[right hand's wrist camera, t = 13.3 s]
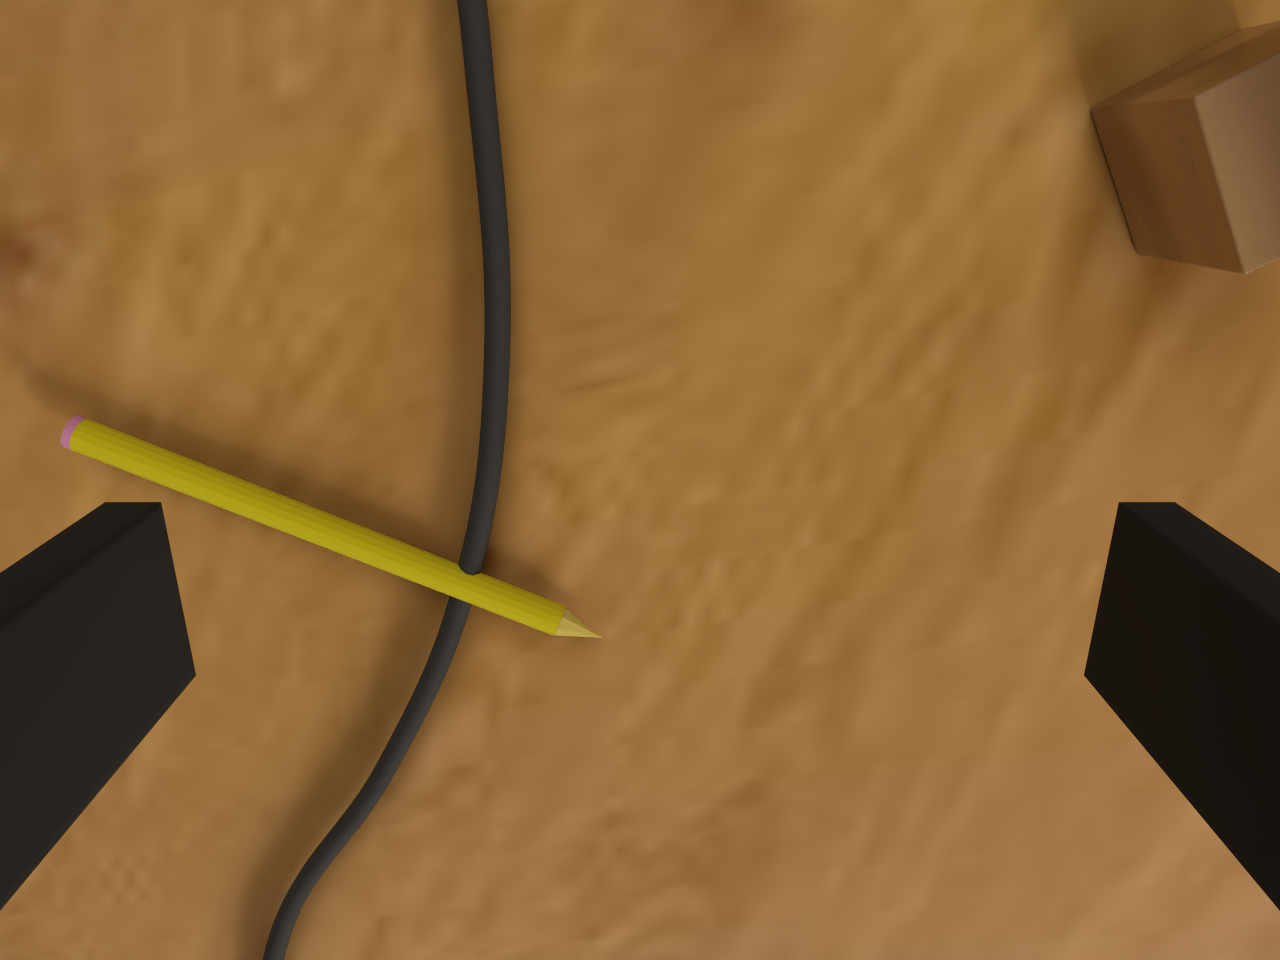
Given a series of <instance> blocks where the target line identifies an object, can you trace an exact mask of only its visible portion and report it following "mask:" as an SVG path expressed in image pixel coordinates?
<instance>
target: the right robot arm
mask: <svg viewBox="0 0 1280 960" xmlns="http://www.w3.org/2000/svg"><path fill="white" fill-rule="evenodd" d="M457 2H458V10H459V19H460V27H461V37H462V47H463V56H464V66H465V76H466V86H467V95H468V105H469V114H470V124H471V133H472V142H473V151H474V160H475V170H476V179H477V189H478V200H479V210H480V222H481V234H482V249H483V267H484V298H485V337H484V372H483V396H482V414H481V429H480V442H479V452H478V462H477V470H476V478H475V485H474V492H473V498H472V504H471V510H470V515H469V520H468V525H467V530H466V535H465V539H464V544H463V548H462V552H461V556H460V560H459V564H458V565H459V567H460V569H461V570H462V571H463V572H464V573H466V574H468V575H473V576H474V575H476V574H479V573H480V572H481V568H482V565H483V561H484V557H485V553H486V549H487V544H488V540H489V536H490V531H491V527H492V522H493V517H494V512H495V506H496V501H497V495H498V489H499V482H500V475H501V467H502V460H503V450H504V440H505V428H506V415H507V400H508V382H509V360H510V329H511V288H510V256H509V238H508V223H507V210H506V198H505V187H504V176H503V165H502V155H501V145H500V135H499V125H498V115H497V104H496V94H495V83H494V72H493V61H492V51H491V40H490V29H489V20H488V11H487V1H486V0H457ZM470 607H471V604H470V603H468V602H465V601H462V600H460V599H457V598H455V597H452V596H450V597H449V601H448V604H447V607H446V610H445V613H444V617H443V620H442V623H441V626H440V629H439V632H438V635H437V637H436V640H435V643H434V645H433V648H432V651H431V653H430V656H429V658H428V661H427V663H426V666H425V668H424V670H423V673H422V675H421V677H420V680H419V682H418V684H417V686H416V688H415V690H414V693H413V695H412V697H411V699H410V701H409V703H408V705H407V707H406V709H405V711H404V713H403V715H402V717H401V719H400V721H399V723H398V724H397V726H396V728H395V730H394V732H393V734H392V736H391V738H390V740H389V742H388V743H387V745H386V747H385V749H384V751H383V753H382V755H381V757H380V758H379V760H378V762H377V764H376V766H375V768H374V769H373V771H372V773H371V775H370V776H369V778H368V780H367V781H366V783H365V784H364V786H363V787H362V789H361V790H360V792H359V793H358V795H357V796H356V798H355V799H354V800H353V802H352V803H351V805H350V806H349V807H348V809H347V810H346V811H345V813H344V814H343V815H342V817H341V818H340V819H339V820H338V822H337V823H336V824H335V825H334V827H333V828H332V829H331V830H330V832H329V833H328V834H327V836H326V837H325V838H324V839H323V841H322V842H321V843H320V844H319V846H318V847H317V848H316V850H315V851H314V852H313V854H312V855H311V856H310V858H309V859H308V860H307V862H306V863H305V865H304V866H303V868H302V869H301V871H300V872H299V874H298V876H297V877H296V879H295V880H294V882H293V884H292V885H291V887H290V889H289V891H288V892H287V894H286V896H285V898H284V900H283V902H282V904H281V906H280V909H279V911H278V913H277V915H276V918H275V920H274V923H273V926H272V929H271V931H270V934H269V938H268V941H267V944H266V948H265V952H264V957H263V960H284V957H285V952H286V948H287V945H288V942H289V938H290V935H291V932H292V930H293V927H294V924H295V922H296V919H297V917H298V915H299V913H300V910H301V908H302V906H303V904H304V902H305V901H306V899H307V897H308V895H309V893H310V892H311V890H312V889H313V887H314V885H315V884H316V882H317V881H318V880H319V878H320V877H321V875H322V874H323V873H324V871H325V870H326V869H327V867H328V866H329V865H330V863H331V862H332V861H333V859H334V858H335V857H336V856H337V854H338V853H339V852H340V851H341V849H342V848H343V847H344V846H345V844H346V843H347V842H348V841H349V839H350V838H351V837H352V836H353V834H354V833H355V832H356V831H357V829H358V828H359V827H360V825H361V824H362V823H363V822H364V820H365V819H366V818H367V816H368V815H369V813H370V812H371V811H372V809H373V808H374V806H375V805H376V803H377V802H378V800H379V799H380V797H381V796H382V794H383V793H384V791H385V790H386V788H387V786H388V784H389V783H390V781H391V779H392V777H393V776H394V774H395V772H396V770H397V769H398V767H399V765H400V763H401V761H402V759H403V758H404V756H405V754H406V752H407V750H408V748H409V747H410V745H411V743H412V741H413V739H414V737H415V735H416V733H417V732H418V730H419V728H420V726H421V724H422V722H423V720H424V718H425V716H426V714H427V712H428V710H429V708H430V706H431V704H432V702H433V700H434V698H435V696H436V694H437V692H438V690H439V688H440V686H441V684H442V681H443V679H444V677H445V675H446V672H447V670H448V668H449V665H450V663H451V660H452V658H453V655H454V653H455V650H456V648H457V645H458V642H459V640H460V637H461V634H462V631H463V628H464V625H465V622H466V619H467V616H468V613H469V610H470ZM195 676H196V673H195V668H194V663H193V658H192V653H191V648H190V643H189V638H188V634H187V629H186V624H185V619H184V614H183V609H182V604H181V599H180V594H179V589H178V584H177V579H176V574H175V569H174V564H173V559H172V554H171V549H170V544H169V539H168V534H167V529H166V524H165V519H164V515H163V510H162V505H161V502H105V503H103V504H102V505H100V506H99V507H97V508H96V509H94V510H93V511H91V512H90V513H89V514H87V515H86V516H84V517H83V518H81V519H80V520H78V521H77V522H75V523H74V524H72V525H71V526H69V527H68V528H66V529H65V530H63V531H62V532H60V533H59V534H57V535H56V536H54V537H53V538H51V539H50V540H48V541H47V542H46V543H44V544H43V545H41V546H40V547H38V548H37V549H35V550H34V551H32V552H31V553H29V554H28V555H26V556H25V557H23V558H22V559H20V560H19V561H17V562H16V563H14V564H13V565H11V566H10V567H8V568H7V569H5V570H4V571H3V572H1V573H0V910H1V909H2V908H3V907H4V905H5V904H6V903H7V902H8V901H9V899H10V898H11V897H12V896H13V895H14V893H15V892H16V891H17V890H18V889H19V887H20V886H21V885H22V884H23V883H24V881H25V880H26V879H27V878H28V877H29V875H30V874H31V873H32V872H33V871H34V869H35V868H36V867H37V866H38V865H39V863H40V862H41V861H42V860H43V859H44V857H45V856H46V855H47V854H48V852H49V851H50V850H51V849H52V848H53V846H54V845H55V844H56V843H57V842H58V840H59V839H60V838H61V837H62V836H63V834H64V833H65V832H66V831H67V830H68V828H69V827H70V826H71V825H72V824H73V822H74V821H75V820H76V819H77V818H78V816H79V815H80V814H81V813H82V812H83V810H84V809H85V808H86V807H87V806H88V804H89V803H90V802H91V801H92V800H93V798H94V797H95V796H96V795H97V794H98V792H99V791H100V790H101V789H102V788H103V786H104V785H105V784H106V783H107V782H108V780H109V779H110V778H111V777H112V776H113V774H114V773H115V772H116V771H117V770H118V768H119V767H120V766H121V765H122V764H123V762H124V761H125V760H126V759H127V758H128V756H129V755H130V754H131V753H132V752H133V750H134V749H135V748H136V747H137V746H138V744H139V743H140V742H141V741H142V740H143V738H144V737H145V736H146V735H147V734H148V732H149V731H150V730H151V729H152V728H153V726H154V725H155V724H156V723H157V721H158V720H159V719H160V718H161V717H162V715H163V714H164V713H165V712H166V711H167V709H168V708H169V707H170V706H171V705H172V703H173V702H174V701H175V700H176V699H177V697H178V696H179V695H180V694H181V693H182V691H183V690H184V689H185V688H186V687H187V685H188V684H189V683H190V682H191V681H192V679H193V678H194V677H195ZM1084 676H1085V677H1086V678H1087V679H1088V681H1089V682H1090V683H1091V684H1092V685H1093V687H1094V688H1095V689H1096V690H1097V691H1098V693H1099V694H1100V695H1101V696H1102V697H1103V699H1104V700H1105V701H1106V702H1107V703H1108V705H1109V706H1110V707H1111V708H1112V709H1113V711H1114V712H1115V713H1116V714H1117V715H1118V717H1119V718H1120V719H1121V720H1122V721H1123V723H1124V724H1125V725H1126V726H1127V728H1128V729H1129V730H1130V731H1131V732H1132V734H1133V735H1134V736H1135V737H1136V738H1137V740H1138V741H1139V742H1140V743H1141V744H1142V746H1143V747H1144V748H1145V749H1146V750H1147V752H1148V753H1149V754H1150V755H1151V756H1152V758H1153V759H1154V760H1155V761H1156V762H1157V764H1158V765H1159V766H1160V767H1161V768H1162V770H1163V771H1164V772H1165V773H1166V774H1167V776H1168V777H1169V778H1170V779H1171V780H1172V782H1173V783H1174V784H1175V785H1176V786H1177V788H1178V789H1179V790H1180V791H1181V792H1182V794H1183V795H1184V796H1185V797H1186V798H1187V800H1188V801H1189V802H1190V803H1191V804H1192V806H1193V807H1194V808H1195V809H1196V810H1197V812H1198V813H1199V814H1200V815H1201V816H1202V818H1203V819H1204V820H1205V821H1206V822H1207V824H1208V825H1209V826H1210V827H1211V828H1212V830H1213V831H1214V832H1215V833H1216V834H1217V836H1218V837H1219V838H1220V839H1221V840H1222V842H1223V843H1224V844H1225V845H1226V846H1227V848H1228V849H1229V850H1230V851H1231V852H1232V854H1233V855H1234V856H1235V857H1236V858H1237V860H1238V861H1239V862H1240V863H1241V865H1242V866H1243V867H1244V868H1245V869H1246V871H1247V872H1248V873H1249V874H1250V875H1251V877H1252V878H1253V879H1254V880H1255V881H1256V883H1257V884H1258V885H1259V886H1260V887H1261V889H1262V890H1263V891H1264V892H1265V893H1266V895H1267V896H1268V897H1269V898H1270V899H1271V901H1272V902H1273V903H1274V904H1275V905H1276V907H1277V908H1278V909H1279V910H1280V573H1279V572H1278V571H1276V570H1275V569H1273V568H1272V567H1270V566H1269V565H1267V564H1266V563H1264V562H1263V561H1261V560H1260V559H1258V558H1257V557H1255V556H1254V555H1252V554H1251V553H1249V552H1248V551H1246V550H1245V549H1243V548H1242V547H1240V546H1239V545H1237V544H1236V543H1234V542H1233V541H1232V540H1230V539H1229V538H1227V537H1226V536H1224V535H1223V534H1221V533H1220V532H1218V531H1217V530H1215V529H1214V528H1212V527H1211V526H1209V525H1208V524H1206V523H1205V522H1203V521H1202V520H1200V519H1199V518H1197V517H1196V516H1194V515H1193V514H1191V513H1190V512H1189V511H1187V510H1186V509H1184V508H1183V507H1181V506H1180V505H1178V504H1177V503H1175V502H1119V505H1118V510H1117V515H1116V520H1115V524H1114V529H1113V534H1112V539H1111V544H1110V549H1109V554H1108V559H1107V564H1106V569H1105V574H1104V579H1103V584H1102V589H1101V594H1100V599H1099V604H1098V609H1097V614H1096V619H1095V624H1094V629H1093V634H1092V638H1091V643H1090V648H1089V653H1088V658H1087V663H1086V668H1085V673H1084Z"/></svg>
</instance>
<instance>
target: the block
mask: <svg viewBox="0 0 1280 960" xmlns="http://www.w3.org/2000/svg"><path fill="white" fill-rule="evenodd" d="M1091 113H1092V116H1093V119H1094V122H1095V125H1096V129H1097V132H1098V135H1099V138H1100V141H1101V144H1102V147H1103V150H1104V153H1105V156H1106V159H1107V162H1108V165H1109V168H1110V171H1111V174H1112V177H1113V180H1114V184H1115V187H1116V190H1117V193H1118V196H1119V199H1120V202H1121V205H1122V208H1123V211H1124V214H1125V217H1126V220H1127V223H1128V226H1129V229H1130V232H1131V236H1132V239H1133V242H1134V245H1135V248H1136V251H1137V253H1138V254H1139V255H1142V256H1148V257H1153V258H1158V259H1164V260H1169V261H1175V262H1180V263H1185V264H1191V265H1196V266H1202V267H1207V268H1212V269H1218V270H1223V271H1229V272H1234V273H1239V274H1248V273H1250V272H1252V271H1254V270H1256V269H1258V268H1260V267H1262V266H1264V265H1266V264H1268V263H1270V262H1272V261H1275V260H1277V259H1279V258H1280V21H1277V22H1273V23H1268V24H1263V25H1259V26H1254V27H1249V28H1244V29H1241V30H1239V31H1237V32H1235V33H1233V34H1231V35H1229V36H1227V37H1225V38H1223V39H1222V40H1220V41H1218V42H1216V43H1214V44H1212V45H1210V46H1208V47H1206V48H1204V49H1203V50H1201V51H1199V52H1197V53H1195V54H1193V55H1191V56H1189V57H1187V58H1185V59H1183V60H1182V61H1180V62H1178V63H1176V64H1174V65H1172V66H1170V67H1168V68H1166V69H1164V70H1162V71H1161V72H1159V73H1157V74H1155V75H1153V76H1151V77H1149V78H1147V79H1145V80H1143V81H1141V82H1140V83H1138V84H1136V85H1134V86H1132V87H1130V88H1128V89H1126V90H1124V91H1122V92H1120V93H1119V94H1117V95H1115V96H1113V97H1111V98H1109V99H1107V100H1105V101H1103V102H1101V103H1099V104H1098V105H1096V106H1094V107H1092V108H1091Z"/></svg>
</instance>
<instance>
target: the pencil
mask: <svg viewBox="0 0 1280 960" xmlns="http://www.w3.org/2000/svg"><path fill="white" fill-rule="evenodd" d="M60 443H61V446H63V447H66V448H68V449H71V450H73V451H75V452H78V453H81V454H83V455H86V456H88V457H91V458H94V459H96V460H99V461H101V462H104V463H106V464H109V465H112V466H114V467H117V468H119V469H122V470H125V471H127V472H130V473H132V474H135V475H138V476H140V477H143V478H145V479H148V480H151V481H153V482H156V483H158V484H161V485H164V486H166V487H169V488H171V489H174V490H177V491H179V492H182V493H184V494H187V495H190V496H192V497H195V498H197V499H200V500H203V501H205V502H208V503H210V504H213V505H216V506H218V507H221V508H223V509H226V510H229V511H231V512H234V513H236V514H239V515H242V516H244V517H247V518H249V519H252V520H255V521H257V522H260V523H262V524H265V525H268V526H270V527H273V528H275V529H278V530H281V531H283V532H286V533H288V534H291V535H294V536H296V537H299V538H301V539H304V540H307V541H309V542H312V543H314V544H317V545H319V546H322V547H325V548H327V549H330V550H332V551H335V552H338V553H340V554H343V555H345V556H348V557H351V558H353V559H356V560H358V561H361V562H364V563H366V564H369V565H371V566H374V567H377V568H379V569H382V570H384V571H387V572H390V573H392V574H395V575H397V576H400V577H403V578H405V579H408V580H410V581H413V582H416V583H418V584H421V585H423V586H426V587H429V588H431V589H434V590H436V591H439V592H442V593H444V594H447V595H449V596H452V597H455V598H457V599H460V600H462V601H465V602H468V603H470V604H473V605H475V606H478V607H481V608H483V609H486V610H488V611H491V612H494V613H496V614H499V615H501V616H504V617H507V618H509V619H512V620H514V621H517V622H519V623H522V624H525V625H527V626H530V627H532V628H535V629H538V630H540V631H543V632H545V633H548V634H551V635H557V636H578V637H599V638H602V637H601V636H600V635H598V634H597V633H596V632H595V631H593V630H592V629H591V628H590V627H589V626H587V625H586V624H585V623H584V622H582V621H581V620H580V619H579V618H578V617H576V616H575V615H574V614H573V613H571V612H570V611H569V610H568V609H566V608H565V606H564V605H562V604H559V603H557V602H554V601H552V600H549V599H547V598H544V597H541V596H539V595H536V594H534V593H531V592H529V591H526V590H524V589H521V588H518V587H516V586H513V585H511V584H508V583H506V582H503V581H501V580H498V579H496V578H493V577H490V576H488V575H485V574H483V573H479V574H476V575H474V576H473V575H468V574H466V573H464V572H463V571H462V570H461V569H460V567H459V565H458V564H457V563H455V562H452V561H450V560H447V559H444V558H442V557H439V556H437V555H434V554H432V553H429V552H427V551H424V550H421V549H419V548H416V547H414V546H411V545H409V544H406V543H404V542H401V541H399V540H396V539H393V538H391V537H388V536H386V535H383V534H381V533H378V532H376V531H373V530H370V529H368V528H365V527H363V526H360V525H358V524H355V523H353V522H350V521H347V520H345V519H342V518H340V517H337V516H335V515H332V514H330V513H327V512H324V511H322V510H319V509H317V508H314V507H312V506H309V505H307V504H304V503H301V502H299V501H296V500H294V499H291V498H289V497H286V496H284V495H281V494H279V493H276V492H273V491H271V490H268V489H266V488H263V487H261V486H258V485H256V484H253V483H250V482H248V481H245V480H243V479H240V478H238V477H235V476H233V475H230V474H227V473H225V472H222V471H220V470H217V469H215V468H212V467H210V466H207V465H204V464H202V463H199V462H197V461H194V460H192V459H189V458H187V457H184V456H181V455H179V454H176V453H174V452H171V451H169V450H166V449H164V448H161V447H159V446H156V445H153V444H151V443H148V442H146V441H143V440H141V439H138V438H136V437H133V436H130V435H128V434H125V433H123V432H120V431H118V430H115V429H113V428H110V427H107V426H105V425H102V424H100V423H97V422H95V421H92V420H90V419H87V418H84V417H82V416H78V415H76V416H74V417H73V418H71V419H70V420H69V422H68V423H67V424H66V426H65V427H64V429H63V432H62V434H61V440H60Z"/></svg>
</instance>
